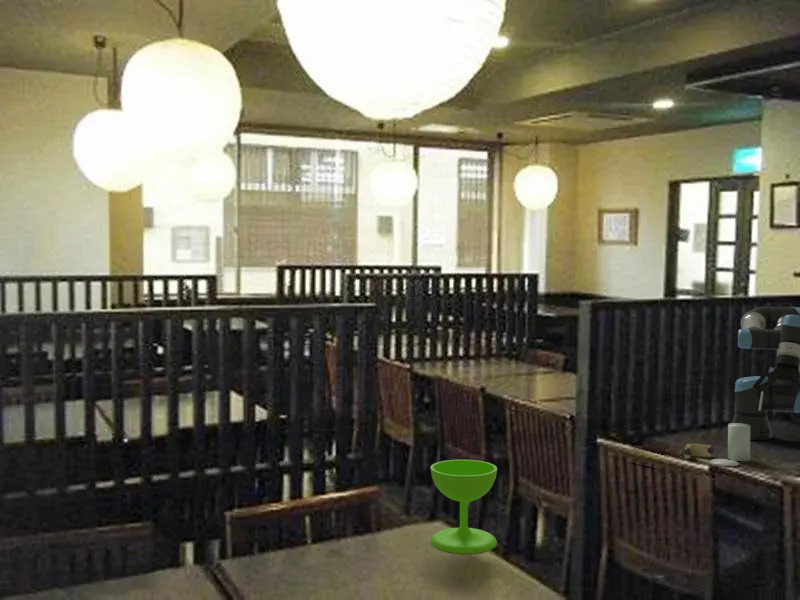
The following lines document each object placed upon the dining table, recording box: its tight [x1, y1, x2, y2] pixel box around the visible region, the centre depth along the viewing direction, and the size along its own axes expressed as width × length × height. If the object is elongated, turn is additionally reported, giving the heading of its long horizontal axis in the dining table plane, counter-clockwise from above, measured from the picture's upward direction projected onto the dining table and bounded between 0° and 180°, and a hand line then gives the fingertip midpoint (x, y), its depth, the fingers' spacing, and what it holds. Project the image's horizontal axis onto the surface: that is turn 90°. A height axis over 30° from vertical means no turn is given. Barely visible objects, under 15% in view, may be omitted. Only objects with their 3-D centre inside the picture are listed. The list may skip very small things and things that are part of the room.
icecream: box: [635, 443, 668, 457], centre depth 264 cm, size 7×7×15 cm
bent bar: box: [683, 442, 716, 460], centre depth 272 cm, size 9×10×4 cm
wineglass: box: [430, 459, 498, 555], centre depth 188 cm, size 16×16×18 cm
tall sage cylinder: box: [727, 422, 751, 462], centre depth 269 cm, size 7×7×12 cm
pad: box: [709, 458, 740, 467], centre depth 263 cm, size 9×9×1 cm
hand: (780, 413), depth 277 cm, fingers open, 13 cm apart
